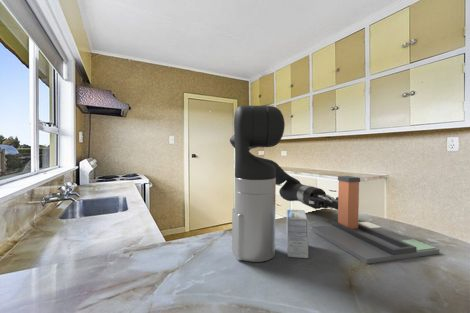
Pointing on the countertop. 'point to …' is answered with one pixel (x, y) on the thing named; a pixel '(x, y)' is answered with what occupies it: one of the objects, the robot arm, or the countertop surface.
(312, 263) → the countertop surface
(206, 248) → the countertop surface
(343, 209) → the handle
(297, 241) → the medicine box
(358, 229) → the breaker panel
